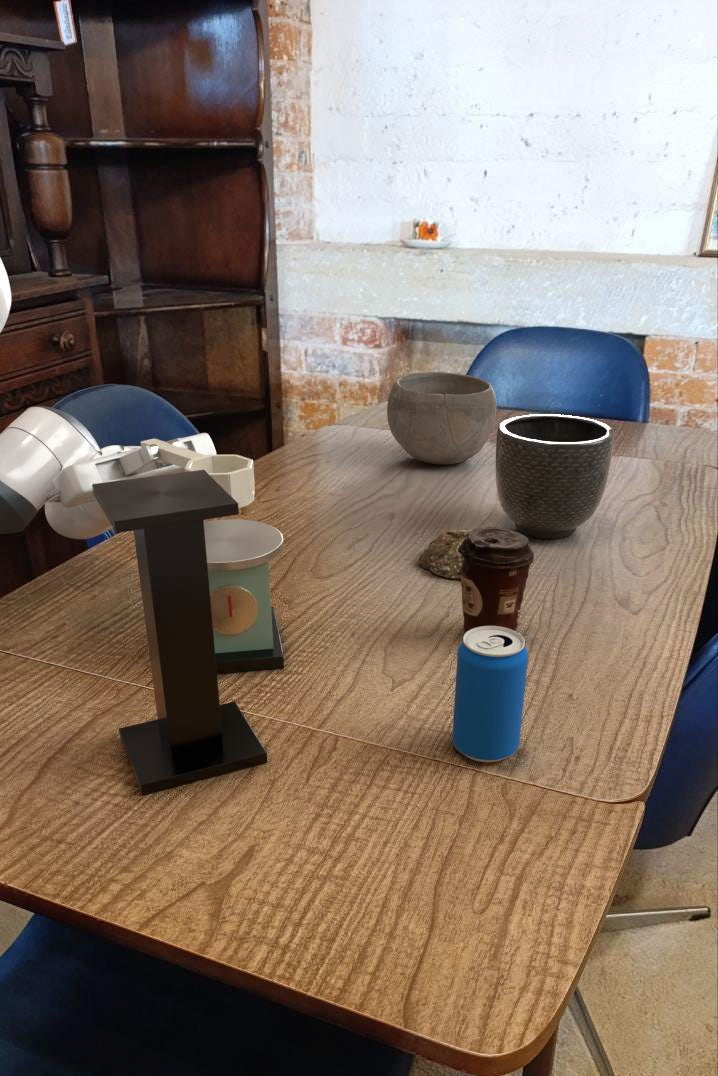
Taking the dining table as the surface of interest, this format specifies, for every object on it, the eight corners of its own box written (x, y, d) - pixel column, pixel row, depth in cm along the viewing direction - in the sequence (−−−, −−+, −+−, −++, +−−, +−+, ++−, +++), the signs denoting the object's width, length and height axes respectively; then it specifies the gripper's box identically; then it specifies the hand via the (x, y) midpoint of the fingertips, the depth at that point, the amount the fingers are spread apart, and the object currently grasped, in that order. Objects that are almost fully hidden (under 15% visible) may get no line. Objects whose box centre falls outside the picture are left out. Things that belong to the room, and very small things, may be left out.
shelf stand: (119, 735, 88) (80, 485, 75) (234, 708, 92) (215, 468, 80) (142, 795, 79) (102, 525, 67) (267, 762, 84) (252, 503, 71)
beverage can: (532, 753, 85) (544, 645, 79) (480, 775, 82) (488, 664, 76) (489, 722, 90) (498, 617, 84) (438, 741, 87) (444, 634, 81)
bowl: (510, 470, 165) (516, 389, 158) (404, 479, 160) (407, 396, 153) (469, 440, 183) (473, 366, 175) (373, 448, 178) (373, 372, 171)
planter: (472, 516, 143) (478, 418, 135) (566, 506, 147) (577, 410, 140) (520, 556, 128) (530, 448, 121) (623, 542, 133) (639, 438, 125)
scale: (177, 624, 109) (166, 522, 103) (282, 617, 111) (277, 516, 104) (176, 677, 98) (164, 566, 91) (292, 667, 100) (288, 558, 93)
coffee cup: (457, 653, 103) (463, 550, 96) (448, 621, 110) (453, 523, 104) (531, 652, 103) (542, 549, 97) (517, 620, 110) (527, 522, 104)
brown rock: (515, 553, 129) (518, 522, 127) (500, 587, 119) (503, 553, 116) (430, 543, 132) (431, 512, 130) (409, 575, 122) (410, 542, 120)
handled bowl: (126, 479, 102) (121, 445, 100) (175, 466, 106) (172, 433, 104) (216, 515, 91) (213, 478, 89) (267, 499, 96) (265, 463, 94)
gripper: (30, 477, 104) (73, 439, 93) (173, 443, 117) (226, 406, 106) (51, 528, 104) (96, 496, 94) (191, 488, 117) (245, 455, 107)
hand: (166, 448), depth 100 cm, fingers closed on handled bowl, 2 cm apart
